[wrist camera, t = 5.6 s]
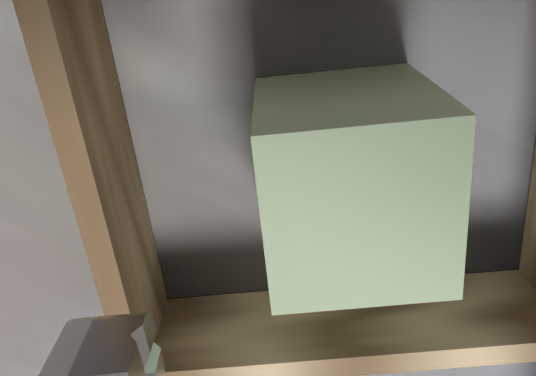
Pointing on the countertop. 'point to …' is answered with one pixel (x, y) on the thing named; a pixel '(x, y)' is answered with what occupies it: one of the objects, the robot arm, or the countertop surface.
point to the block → (361, 188)
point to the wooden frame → (251, 303)
